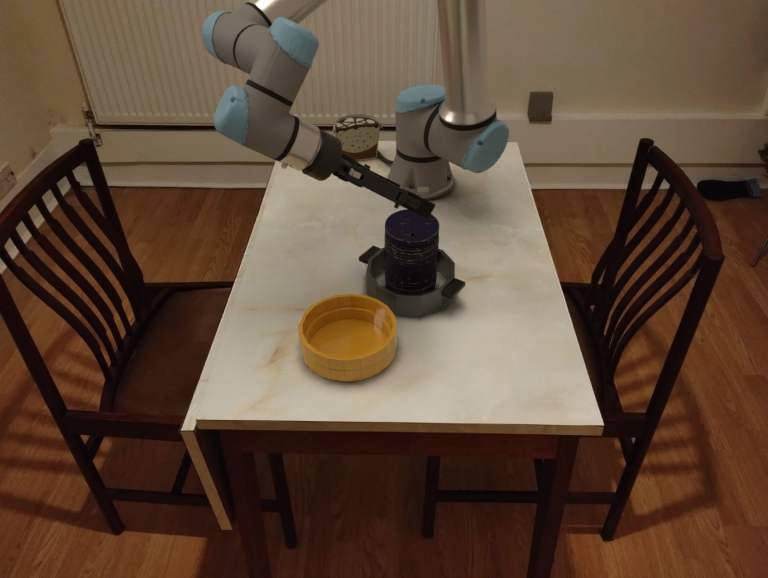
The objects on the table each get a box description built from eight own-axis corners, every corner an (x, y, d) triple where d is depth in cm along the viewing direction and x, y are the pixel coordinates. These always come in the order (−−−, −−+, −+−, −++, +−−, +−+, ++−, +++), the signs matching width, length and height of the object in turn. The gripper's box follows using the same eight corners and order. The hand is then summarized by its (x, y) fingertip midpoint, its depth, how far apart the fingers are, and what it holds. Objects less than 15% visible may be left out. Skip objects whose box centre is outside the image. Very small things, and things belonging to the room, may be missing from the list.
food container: (376, 146, 173) (375, 110, 167) (382, 157, 169) (382, 120, 162) (330, 152, 171) (327, 116, 164) (335, 164, 166) (332, 126, 160)
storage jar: (384, 270, 131) (384, 208, 121) (434, 270, 131) (438, 208, 121) (384, 305, 124) (384, 242, 114) (437, 305, 124) (441, 242, 114)
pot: (341, 291, 127) (340, 271, 124) (389, 249, 138) (389, 229, 135) (434, 333, 118) (435, 312, 115) (478, 285, 128) (480, 264, 125)
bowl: (288, 333, 118) (285, 310, 115) (372, 307, 124) (371, 284, 120) (321, 396, 107) (319, 372, 103) (412, 364, 112) (413, 340, 109)
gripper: (278, 156, 117) (375, 201, 128) (326, 190, 96) (436, 241, 108) (296, 117, 116) (392, 166, 127) (349, 143, 95) (458, 199, 106)
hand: (413, 200), depth 117 cm, fingers open, 13 cm apart
